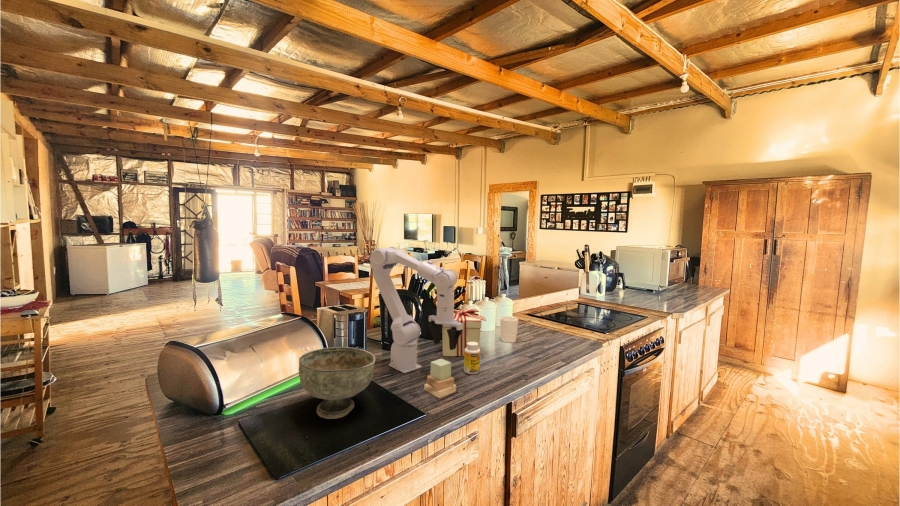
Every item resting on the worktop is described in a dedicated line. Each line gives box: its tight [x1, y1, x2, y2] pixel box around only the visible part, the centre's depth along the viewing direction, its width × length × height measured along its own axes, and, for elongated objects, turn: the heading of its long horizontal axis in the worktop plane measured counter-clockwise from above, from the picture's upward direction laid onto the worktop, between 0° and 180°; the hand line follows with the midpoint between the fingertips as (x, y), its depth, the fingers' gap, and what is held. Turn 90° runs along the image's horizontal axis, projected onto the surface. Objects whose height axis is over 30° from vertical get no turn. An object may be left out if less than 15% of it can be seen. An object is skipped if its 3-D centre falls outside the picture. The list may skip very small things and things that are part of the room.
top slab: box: [426, 374, 455, 391], centre depth 115 cm, size 6×6×2 cm
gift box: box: [441, 308, 487, 357], centre depth 149 cm, size 17×18×17 cm
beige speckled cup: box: [499, 315, 519, 344], centre depth 165 cm, size 8×8×10 cm
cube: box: [429, 358, 452, 381], centre depth 115 cm, size 4×4×4 cm
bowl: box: [298, 346, 376, 420], centre depth 102 cm, size 20×19×15 cm
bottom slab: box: [423, 382, 457, 399], centre depth 115 cm, size 7×7×2 cm
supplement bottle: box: [463, 342, 481, 375], centre depth 130 cm, size 6×6×10 cm
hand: (444, 346), depth 125 cm, fingers open, 7 cm apart
